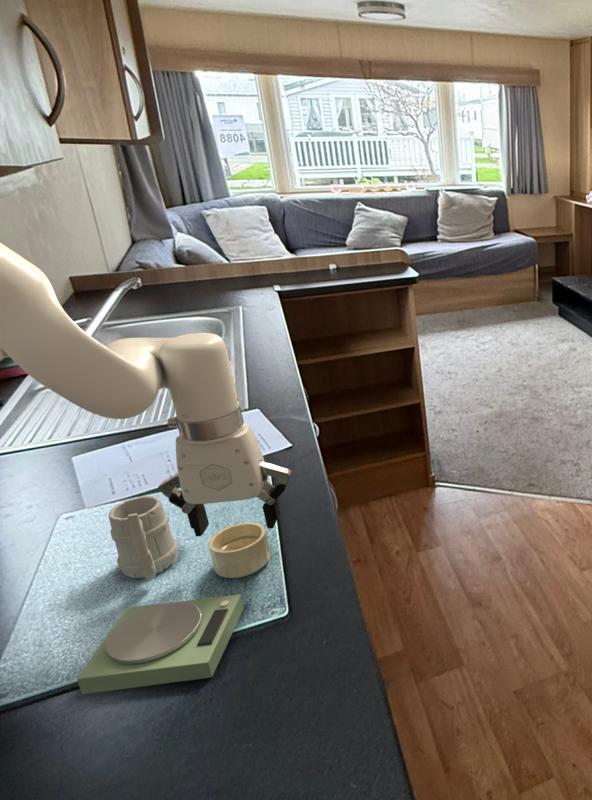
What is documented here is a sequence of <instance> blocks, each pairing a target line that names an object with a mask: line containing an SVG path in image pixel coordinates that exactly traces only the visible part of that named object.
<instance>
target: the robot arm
mask: <svg viewBox="0 0 592 800" xmlns="http://www.w3.org/2000/svg"><path fill="white" fill-rule="evenodd" d="M0 349H1V350H2V351H3V352H4V353H5V354H6V355H7V356H8V357H9V358H11V360H12V361H13V362H14V363H15V364H16V365H17V366H18V367H19V368H21V370H23V371H24V372H25V373H26V374H28V375H29V376H30V377H31V378H32V379H33V380H35V381H36V382H38V383H39V384H41V385H42V386H43V387H45V388H47V389H48V390H50V391H52V392H53V393H55V394H57V395H58V396H59V397H61V398H64V399H65V400H67V401H69V402H70V403H72V404H73V405H75V406H77V407H79V408H81V409H83V410H85V411H86V412H88V413H91V414H93V415H95V416H99V417H102V418H106V419H111V420H125V419H131V418H134V417H137V416H139V415H142V414H143V413H144V412H145V411H147V410H148V409H149V408H150V407H151V406H152V405H153V403H154V402H155V400H156V399H157V396H158V394H159V392H160V390H161V389H167V390H168V391H169V393H170V397H171V401H172V405H173V408H174V412H175V415H176V416H174V417H169V418H168V419H167V426H168V428H170V429H171V428H175V429H178V432H179V434H178V435H177V437H176V438H175V458H176V459H175V460H176V469H177V473H175V474H172V476H170V477H168V478H166V479H164V480H163V481H162V482H160V484H159V485H158V487H157V490H159V491H160V493H161V494H162V495H163V496H165V498H168V502H169V503H171V504H172V505H173V506H176V507H177V508H179V509H181V512H182V513H183V514H186V515H187V518H188V519H187V520H188V522H189V526H190V529H192V530H193V531H194V535H195V537H196V538H198V537H202V536H203V534H204V533H205V531H206V530H207V528H208V527H209V525H210V522H209V518H208V514H207V511H206V508H205V505H206V504H207V505H208V504H217V503H228V502H236V501H237V502H238V501H245V500H251V499H255V498H257V499H258V500H260V501H262V502H263V505H262V512H263V516H264V520H265V525H266V528H267V529H269V530H270V529H274V528H275V525H276V523H277V521H278V520H280V518H281V509H280V508H281V507H280V504H279V497H280V496H281V495H282V494H283V493H284V492H285V491H286V488H287V486H288V485H289V484H288V483H289V481H290V479H291V476H292V474H293V471H292V470H291V469H289V468H287V467H283V466H279V465H277V464H273V463H270V462H267V461H265V458H264V456H263V455H264V454H263V453H262V449H261V447H260V444H259V442H258V439H257V438H256V435H255V434H254V431H253V429H252V427H251V426H250V424H249V423H247V422H244V417H243V412H242V409H241V404H240V400H239V397H238V392H237V387H236V383H235V379H234V375H233V370H232V366H231V362H230V357H229V353H228V352H229V351H228V349H227V345H226V343H225V340H224V339H223V338H222V337H221V336H220V335H218V334H216V333H212V332H193V333H192V332H191V333H186V334H182V335H178V336H174V337H126V338H120V339H117V340H114V341H112V342H110V343H108V344H107V345H104V344H102V343H101V342H99V341H98V340H97V339H95V338H94V337H93V336H92V335H90V334H88V333H87V331H85V330H84V329H82V328H81V327H80V326H79V325H78V324H77V323H76V322H75V321H74V320H73V319H72V318H71V317H70V316H69V315H68V314H67V312H66V311H65V309H64V308H63V306H62V305H61V304H60V302H59V299H58V297H57V294H56V292H55V289H54V288H53V286H52V283H51V281H50V280H49V278H48V276H46V274H45V273H44V272H43V271H42V270H41V269H40V268H39V267H38V266H36V265H35V264H33V262H32V263H31V262H30V261H29V260H27V259H25V258H24V257H23V256H22V255H20V254H18V253H17V252H16V251H14V250H12V249H11V248H10V247H8V246H6V245H5V244H4V243H2V242H0ZM269 477H271V478H272V477H273V478H275V479H277V483H276V484H275V485H273V484H272V483H270V481H268V479H269ZM177 486H179V487H180V490H179V489H178V488H177Z"/></svg>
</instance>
